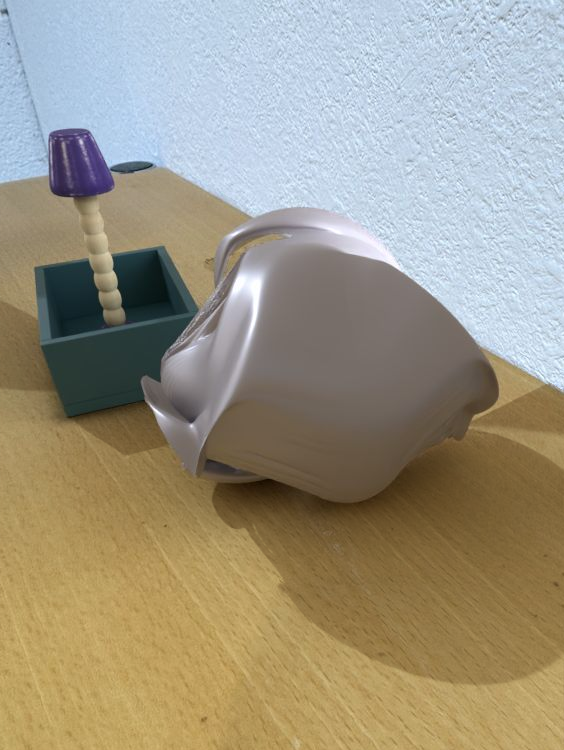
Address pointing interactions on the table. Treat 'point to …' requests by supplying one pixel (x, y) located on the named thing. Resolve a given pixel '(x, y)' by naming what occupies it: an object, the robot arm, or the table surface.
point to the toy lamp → (87, 207)
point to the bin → (113, 345)
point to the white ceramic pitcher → (316, 364)
